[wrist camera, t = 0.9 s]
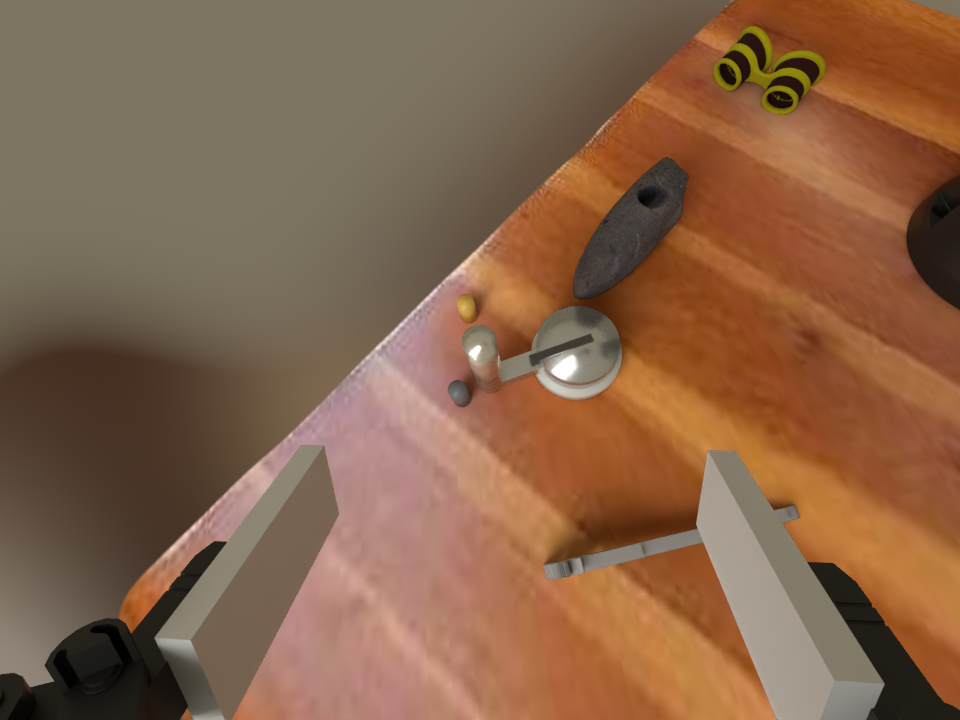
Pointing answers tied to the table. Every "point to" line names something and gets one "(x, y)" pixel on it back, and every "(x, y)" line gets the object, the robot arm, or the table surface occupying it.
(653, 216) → the perforated stone tool
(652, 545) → the caliper
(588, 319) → the dial lever
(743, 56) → the opera glasses
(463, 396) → the shiny assorted pieces
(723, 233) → the table surface
